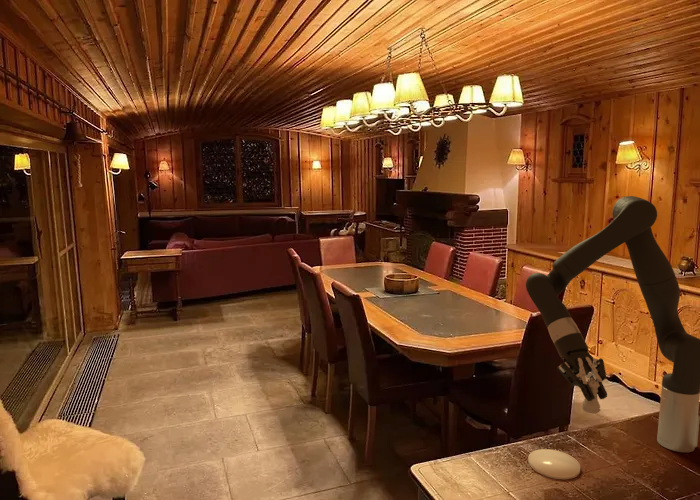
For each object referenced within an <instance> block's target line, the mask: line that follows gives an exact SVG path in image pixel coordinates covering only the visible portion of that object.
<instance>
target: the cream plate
mask: <svg viewBox="0 0 700 500" xmlns="http://www.w3.org/2000/svg"><path fill="white" fill-rule="evenodd" d="M527 459H528V460H527V461H528V465H529V466H530V468H531V469H532V470H534V471H535V472H537V473H539V474H540V475H542V476H544V477H547V478H551V479H555V480H572V479H575V478H577V477H578V476H579V475H580V473H581V465H580V463H579V461H578V460H577V459H576V458H574V457H573V456H571V455H570V454H568V453H565V452H563V451H559V450H555V449H549V448H547V449H546V448H541V449H536V450H533V451H532V452H530V453H529V455H528V458H527Z"/></svg>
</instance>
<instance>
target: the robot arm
mask: <svg viewBox="0 0 700 500" xmlns="http://www.w3.org/2000/svg"><path fill="white" fill-rule="evenodd" d="M611 213H612V214H611V215H612V219H613V220H612V221H611V222H610V223H608V225H607V226H605V227H604V228H603V229H601V230H599V231H598V232H597V233H595V234H593V235H592V236H590V237H588V238H586V239H584V240H583V241H580V242H579V243H577V244H574V246H572V247H571V248H569V249H568V250H566V252H564V253H563V254H562V255H560V256H559V257H558V258H557V259H556V260H555V261H553V263H552V270H551V271H550V272H549V273H548V274H547V275H546V274H544V273H542V272H541V273H540V272H535V273H531V274H530V275H529V276H528V277H527V279H526V281H525V289H526V292H527V294H528V296H529V298H530V300H531V301H532V302H533V304H534V305H535V307H536V309H537V310H538V311H539V313H540V315H541V318H542V319H543V322H544V324H545V327H546V328H547V330H548V333H549V336H550V338H551V341H552V342H553V345H554V346H555V349H556V350H557V353H558V355H559V357H560V358H561V359H562V360H563V362H562V363H561V364H560V365H559V366H557V368H556V369H557V370H558V372H559V373H560V374H561V375H562V376H563V378H564V379H565V380H566V381H567V382H568V383H569V384H570V386H572V387H578V388H579V389H580V391H581V393H582V394H583V397H584V399H585V398H586V399H587V400H588V401H592V400H594V399H595V396H594V394H593V392H592V390H591V388H590V386H589V384H587V381H588V380H587V379H589V380H590V379H592V381H594V379H595V380H596V381H597V380H598V383H599V385H600V386H599V387H598V392H597V397H598V399H599V400H604V399H606V398H607V397H608V391H607V389H606V388H605V386H604V384H603V381H605V380H606V379H607V372H606V367H605V363H604V362H605V361H604V359H603V358H598V359H597V358H594V356H592V354H590V353H589V346H588V344H587V342H586V339H585V338H584V336H583V334H582V332H581V330H580V329H579V328H578V325H577V323H576V322H575V321H574V319H573V317H572V315H571V314H570V312H569V310H568V308H567V307H566V305H565V303H563V301H562V300H561V299H560V297H559V295H560V294H561V293H562V292H563V291H564V290H565V289H566V287H568V286H569V284H570V283H571V281H572V280H574V279H575V278H576V277H578V276H579V275H580V274H582V273H583V272H584V271H586V270H587V269H588V268H589V267H591V266H592V265H593V264H594V263H596V262H597V261H599V259H601V258H602V257H604V256H606V255H607V254H609V253H610V252H611V251H613V250H615V249H616V248H618V247H619V246H621V245H623V244H625V245H626V248H627V251H628V254H629V257H630V262H631V265H632V269H633V271H634V274H635V277H636V281H637V283H638V286H639V290H640V292H641V294H642V296H643V299H644V301H645V304H646V305H645V306H646V307H647V310H648V313H649V314H650V318H651V320H652V323H653V327H654V331H655V335H656V339H657V340H656V341H657V345H658V348H659V351H660V353H661V354H662V356H664V358H665V359H667V360H668V361H670V362H672V363H673V366H672V372H670V373H665V374H664V375H663V377H662V379H661V390H660V391H661V392H660V400H659V401H660V403H659V405H660V406H659V415H658V423H657V425H658V427H657V437H656V441H657V443H658V444H659V445H660V446H662V447H664V448H665V449H668V450H670V451H673V452H677V453H691V452H694V451H695V448H697V447H698V441H699V439H698V438H699V429H700V427H699V426H700V415H699V408H700V338H698V337H696V336H694V335H691V334H689V333H688V332H687V331H686V330H685V328H684V326H683V323H682V321H681V319H680V316H679V304H680V303H679V302H680V296H681V289H680V284H679V282H678V279H677V276H676V273H675V271H674V268H673V266H672V265H671V263H670V260H669V259H668V257H667V256H666V254H665V253H664V252H663V250H662V248H661V247H660V245H659V244H658V242H657V241H656V238H655V236H654V232H653V230H652V227H653V226H654V225H655V223H656V221H657V218H658V211H657V207H656V206H655V204H653V203H652V202H651V201H649V200H647V199H644V198H641V197H638V196H633V195H628V196H623V197H621V198H619V199H617V201H616V202H615V203H614V205H613V208H612V212H611Z"/></svg>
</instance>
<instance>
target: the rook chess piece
mask: <svg viewBox="0 0 700 500" xmlns="http://www.w3.org/2000/svg"><path fill="white" fill-rule="evenodd" d="M586 381H587V384H589V386H590V388H591V390H592V392H593V394H594V396H595V399H594V400H592V401H588V400H587V399H586V398H585V397H584V399H583V401H582V402H581V409H582V411H584V412H586V413H588V414H595V415H596V414H598V413H600V412H601V409H600V408H601V404H600V402H599V401H598V399H599V398H598V394H597V392H598V387H599V386H600V385H599V383H598V380H597V381H596V379H594V381H592V379H589V378H587V380H586Z"/></svg>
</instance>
